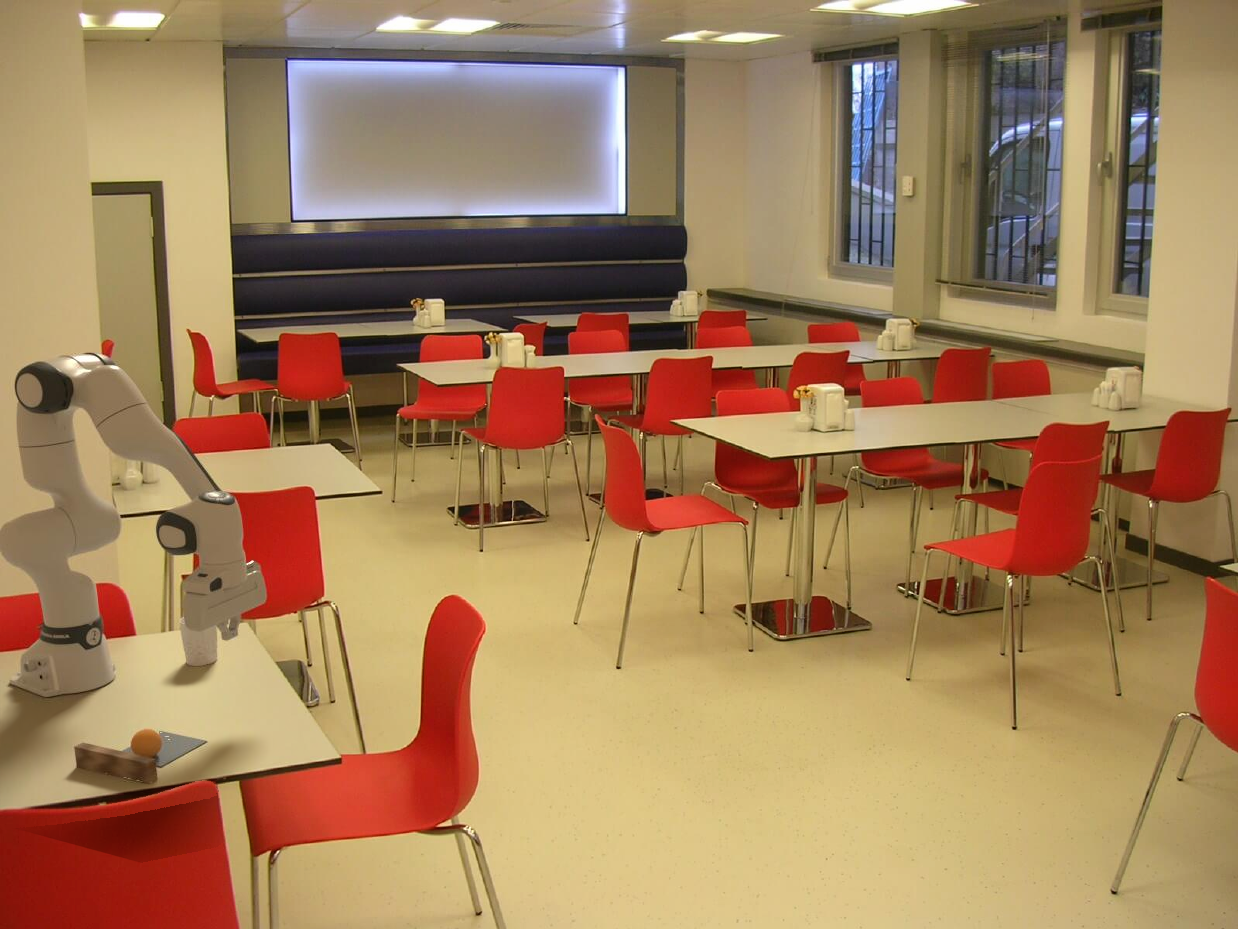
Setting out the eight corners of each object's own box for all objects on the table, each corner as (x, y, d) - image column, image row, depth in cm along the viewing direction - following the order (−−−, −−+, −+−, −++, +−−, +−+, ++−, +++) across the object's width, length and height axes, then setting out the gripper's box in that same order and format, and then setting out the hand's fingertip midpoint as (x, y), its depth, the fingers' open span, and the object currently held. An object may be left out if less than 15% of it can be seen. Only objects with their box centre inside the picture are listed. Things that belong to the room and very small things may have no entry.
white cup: (209, 668, 293) (205, 625, 291) (176, 666, 295) (172, 623, 292) (226, 655, 301) (222, 613, 298) (194, 653, 302) (190, 612, 300)
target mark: (113, 756, 250) (113, 755, 250) (160, 731, 260) (160, 730, 260) (161, 767, 244) (161, 766, 244) (207, 741, 255) (207, 740, 255)
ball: (138, 721, 250) (148, 743, 253) (120, 742, 246) (131, 763, 248) (161, 724, 248) (172, 745, 251) (143, 744, 244) (154, 766, 246)
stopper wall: (76, 766, 246) (74, 746, 245) (85, 762, 247) (82, 742, 247) (149, 784, 238) (146, 763, 237) (157, 779, 240) (155, 758, 239)
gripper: (247, 556, 275) (252, 620, 278) (175, 585, 257) (182, 652, 260) (270, 559, 272) (276, 623, 275) (200, 589, 254) (206, 657, 257)
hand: (230, 638), depth 267 cm, fingers closed
